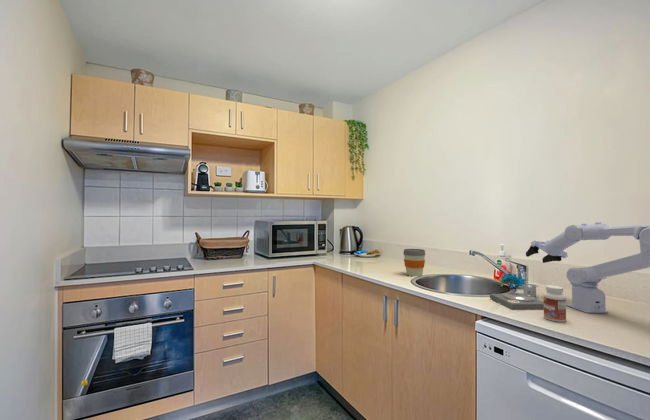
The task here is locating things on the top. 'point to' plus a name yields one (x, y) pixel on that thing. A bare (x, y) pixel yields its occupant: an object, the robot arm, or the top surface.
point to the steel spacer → (530, 289)
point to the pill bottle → (554, 304)
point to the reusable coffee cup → (414, 261)
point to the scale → (517, 301)
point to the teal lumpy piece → (512, 280)
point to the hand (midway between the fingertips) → (534, 257)
